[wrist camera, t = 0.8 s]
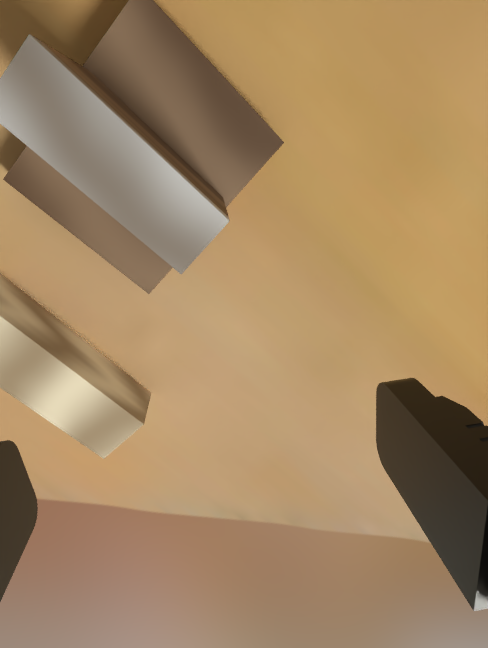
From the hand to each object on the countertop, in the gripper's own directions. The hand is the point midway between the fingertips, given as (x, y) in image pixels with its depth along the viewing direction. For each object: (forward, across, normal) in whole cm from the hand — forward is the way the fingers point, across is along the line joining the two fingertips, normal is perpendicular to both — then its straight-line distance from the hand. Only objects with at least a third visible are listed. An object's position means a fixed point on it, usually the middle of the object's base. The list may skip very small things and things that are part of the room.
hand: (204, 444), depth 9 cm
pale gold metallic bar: (+20, +11, +4) cm, 23 cm away
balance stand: (+19, +2, -7) cm, 20 cm away
